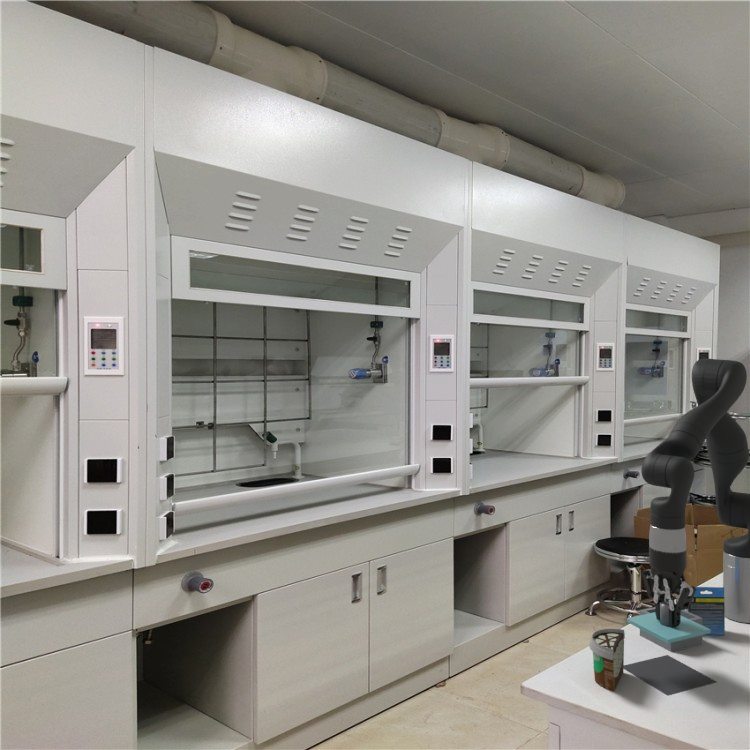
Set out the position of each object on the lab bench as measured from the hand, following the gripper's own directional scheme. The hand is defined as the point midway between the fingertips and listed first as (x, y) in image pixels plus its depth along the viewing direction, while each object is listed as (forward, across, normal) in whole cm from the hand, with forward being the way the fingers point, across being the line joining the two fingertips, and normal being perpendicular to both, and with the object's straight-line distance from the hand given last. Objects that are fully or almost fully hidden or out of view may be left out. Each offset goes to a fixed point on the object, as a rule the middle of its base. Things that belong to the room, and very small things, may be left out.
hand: (667, 622), depth 152 cm
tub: (+12, +13, -14) cm, 22 cm away
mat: (+12, 0, 0) cm, 12 cm away
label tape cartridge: (+13, +14, -26) cm, 32 cm away
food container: (+12, +4, +14) cm, 19 cm away
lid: (+1, 0, 0) cm, 1 cm away
